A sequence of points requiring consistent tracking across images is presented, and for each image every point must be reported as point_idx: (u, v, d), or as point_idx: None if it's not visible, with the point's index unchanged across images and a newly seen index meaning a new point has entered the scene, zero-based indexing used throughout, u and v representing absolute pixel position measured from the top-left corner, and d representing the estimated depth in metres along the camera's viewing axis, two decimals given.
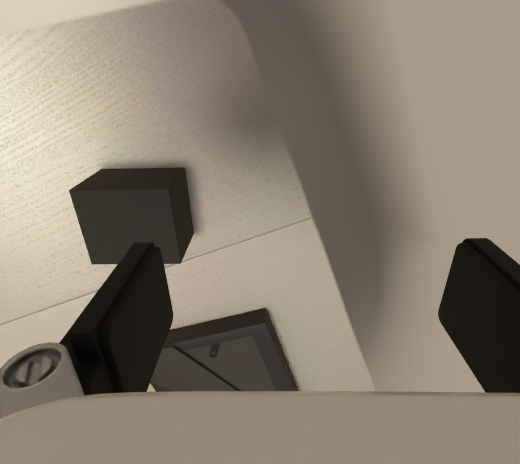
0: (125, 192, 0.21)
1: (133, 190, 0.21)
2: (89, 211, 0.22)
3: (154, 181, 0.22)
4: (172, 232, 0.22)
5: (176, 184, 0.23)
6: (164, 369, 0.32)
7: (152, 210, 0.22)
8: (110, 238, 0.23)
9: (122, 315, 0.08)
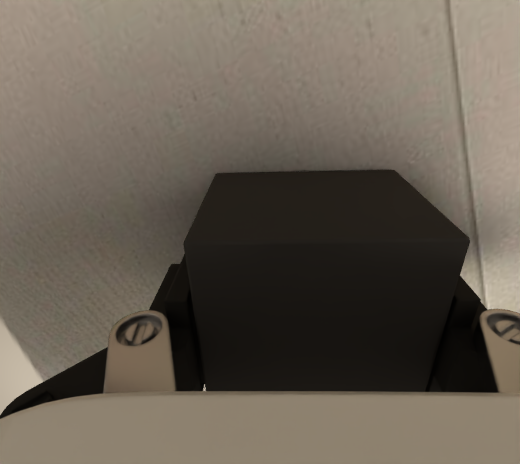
0: (205, 345, 0.08)
1: (199, 327, 0.08)
2: None
3: None
4: (338, 250, 0.07)
5: (212, 206, 0.08)
6: None
7: (257, 294, 0.07)
8: None
9: None
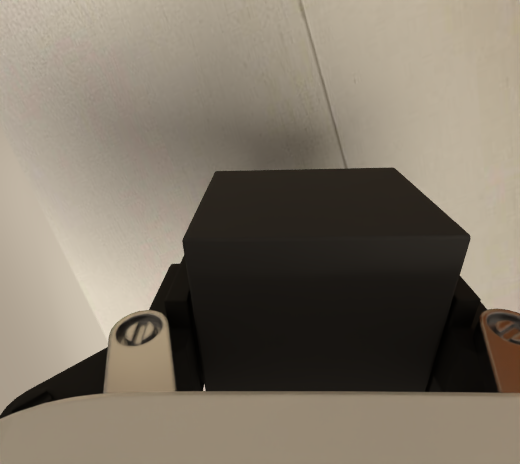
0: (204, 343, 0.08)
1: (198, 325, 0.08)
2: None
3: None
4: (338, 247, 0.07)
5: (211, 204, 0.08)
6: None
7: (257, 292, 0.07)
8: None
9: None
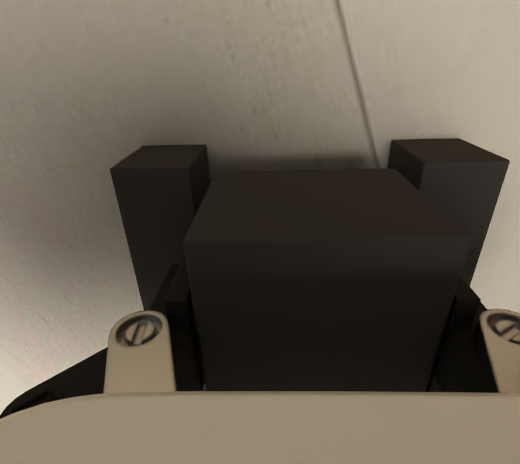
0: (205, 344, 0.08)
1: (199, 326, 0.08)
2: None
3: None
4: (339, 248, 0.07)
5: (212, 205, 0.08)
6: None
7: (258, 293, 0.07)
8: None
9: None
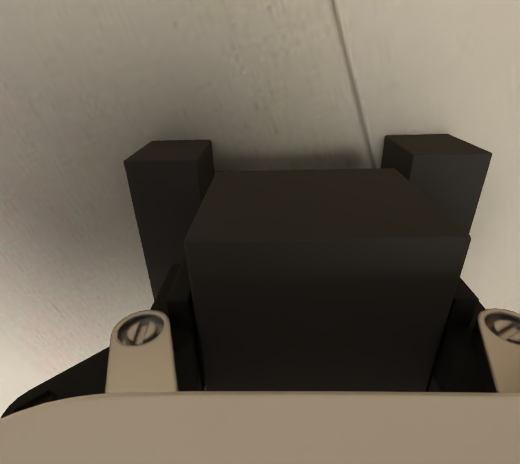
0: (205, 343, 0.08)
1: (200, 325, 0.08)
2: None
3: None
4: (340, 248, 0.07)
5: (212, 205, 0.08)
6: None
7: (258, 293, 0.07)
8: None
9: None
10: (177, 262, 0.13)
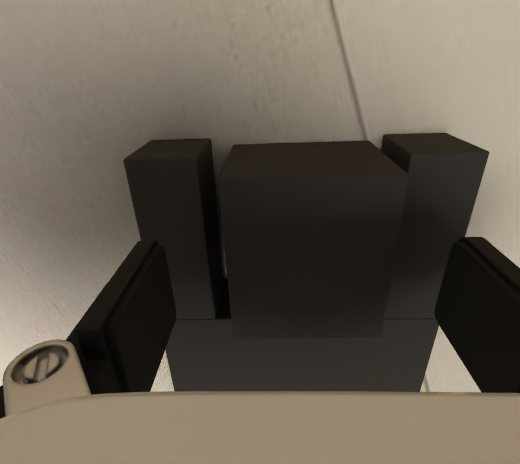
0: (230, 259, 0.11)
1: (227, 245, 0.11)
2: (270, 320, 0.12)
3: None
4: (322, 184, 0.10)
5: (234, 162, 0.11)
6: None
7: (268, 218, 0.10)
8: (328, 299, 0.12)
9: (128, 313, 0.08)
10: (176, 260, 0.13)
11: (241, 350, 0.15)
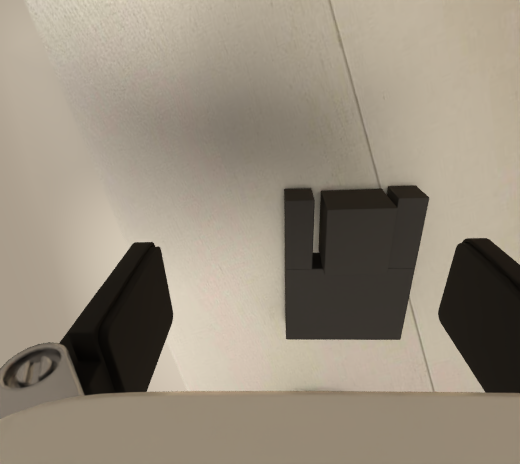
0: (328, 239, 0.28)
1: (327, 234, 0.28)
2: (341, 266, 0.29)
3: (324, 217, 0.29)
4: (365, 211, 0.27)
5: (328, 201, 0.29)
6: None
7: (344, 223, 0.28)
8: (366, 256, 0.29)
9: (122, 315, 0.08)
10: (299, 241, 0.30)
11: (322, 284, 0.32)
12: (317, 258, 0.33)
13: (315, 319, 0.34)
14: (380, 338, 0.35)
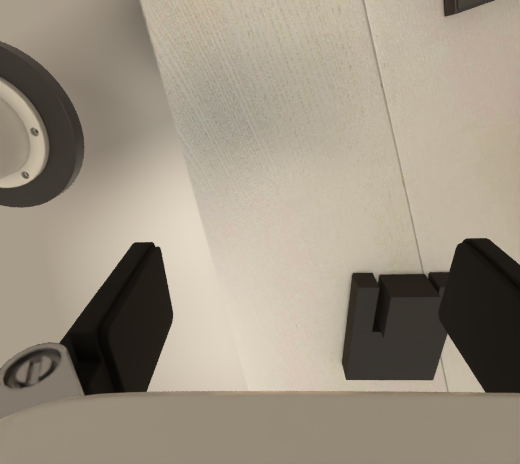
0: (389, 316, 0.39)
1: (389, 312, 0.39)
2: (396, 333, 0.41)
3: (385, 298, 0.40)
4: (418, 298, 0.38)
5: (389, 288, 0.40)
6: None
7: (402, 306, 0.39)
8: (415, 327, 0.40)
9: (122, 315, 0.08)
10: (365, 314, 0.41)
11: (378, 342, 0.43)
12: (373, 321, 0.44)
13: (370, 365, 0.45)
14: (418, 379, 0.46)
